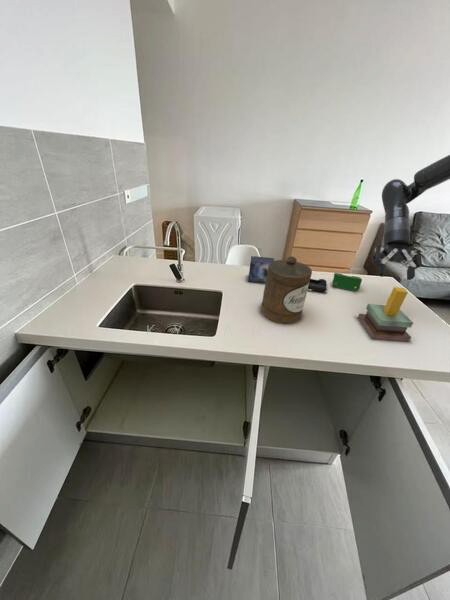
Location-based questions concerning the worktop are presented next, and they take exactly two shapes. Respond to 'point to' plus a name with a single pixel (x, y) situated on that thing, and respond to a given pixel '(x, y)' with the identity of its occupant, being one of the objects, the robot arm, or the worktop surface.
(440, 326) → the worktop surface
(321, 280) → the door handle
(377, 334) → the two-tone stepped base
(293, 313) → the wooden container
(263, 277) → the small box
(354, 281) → the green block
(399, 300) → the bar
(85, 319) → the worktop surface
